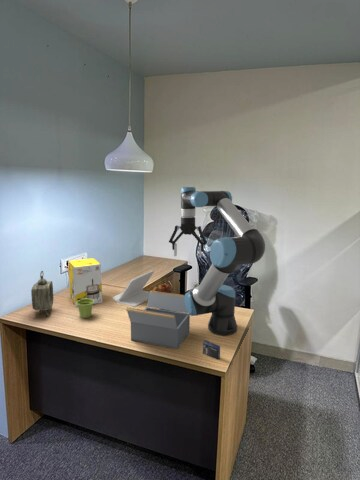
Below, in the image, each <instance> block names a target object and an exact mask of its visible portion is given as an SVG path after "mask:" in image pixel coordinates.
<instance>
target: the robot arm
mask: <svg viewBox="0 0 360 480" xmlns="http://www.w3.org/2000/svg"><path fill="white" fill-rule="evenodd" d="M204 207H216V209H217V210H218V211H219V213H220V214H221V216H222V218H224V220H225V221H226V223H227V224H228V226H229V227H230V228H231V229H232V231H233V232H234V233H235V235H236V236H231V237H230V236H229V237H228V236H225V237H222V238H221V237H220V238H217V239H215V240H214V241H213V242H212V244H211V246H210V249H209V250H210V252H209V257H210V262H211V265H210V267H209V269H208V270H207V272H206V273H205V275H204V277H203V278H202V280H201V282H200V284H198V285H197V286H195V287H194V288H193V290H192V291H188V292H186V293H185V294H184V295H185V305H186V309H187V311H188V313H187V314H190V317H191V316H192V317H193V316H196V317H197V316H200V315H209V314H211V315H210V318H209V321H208V323H207V329H208V331H209V332H210V333H213V334H215V335H219V336H230V335H233V334H235V333H237V331H238V324H237V321H236V317H235V310H236V309H235V308H236V289H235V288H234V287H232V286H229V285H226V284H224V282H225V281H226V280H227V278H228V276H229V275H232V274H234V273H235V272H236V271H237V270H238V268H239V267H240V266H245V265H252V264H256V263H258V262H259V261H260V260H261V259H262V258H263V257H264V254H265V251H266V241H265V238H264V237H263V235H262V234H261V233H260V231H259V230H258V229H257V228H253V226H252V225H251V224H250V223H249V222H248V220H247V219H246V218H245V216H243V213H241V212H240V210H239V209H238V208H237V207H236V205H235V204H234V203H233V196H232V193H231V192H230V191H228V190H227V191H226V190H213V191H212V190H211V191H210V190H207V191H206V190H205V191H204V190H202V191H201V190H200V191H196V187H195V186H182V187H181V189H180V216H181V217H180V225H175V226H174V230H173V231H172V234H171V236H170V238H169V240H168V243H170V244H172V245H171V247H172V251H173V256H174V257H177V254H178V253H177V252H178V251H177V250H178V249H177V247H178V246H177V245H178V243H177V242H178V241H179V239H180V238H181V237H182V236H183V235H190V236H191V235H192V236H193V237H194V238H195V239H196V241H197V242H198V243H199V247H198V248H199V249H198V250H199V251H198V252H199V256H198V257H199V259H201V258H202V256H203V255H202V252H204V250H205V246H206V245H207V244H208V241H207V239H206V236H205V234H204V233H203V231H202V230H203V229H202V226H201V225H198V226H196V217H195V216H196V208H204ZM179 229H180V230H179ZM196 230H197V231H198V233H199V235H200V237H201V238H200V237H199V235H198V234H197V233H196ZM178 231H180V232H179V234H178V235H177V236H176V234H177V233H178ZM175 236H176V238H175ZM174 238H175V239H174ZM204 245H205V246H204Z"/></svg>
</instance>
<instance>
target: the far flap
mask: <svg viewBox="0 0 360 480" xmlns="http://www.w3.org/2000/svg"><path fill="white" fill-rule="evenodd" d="M149 292H150V294H149V299H148V300H147V304H146V307H148V308H154V309H161V310H167V311H174V312H180V313H187V314H189V313H188V311H187V309H186V305H185V294H179V293H172V292H171V293H166V292H159V291H153V290H149Z"/></svg>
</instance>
